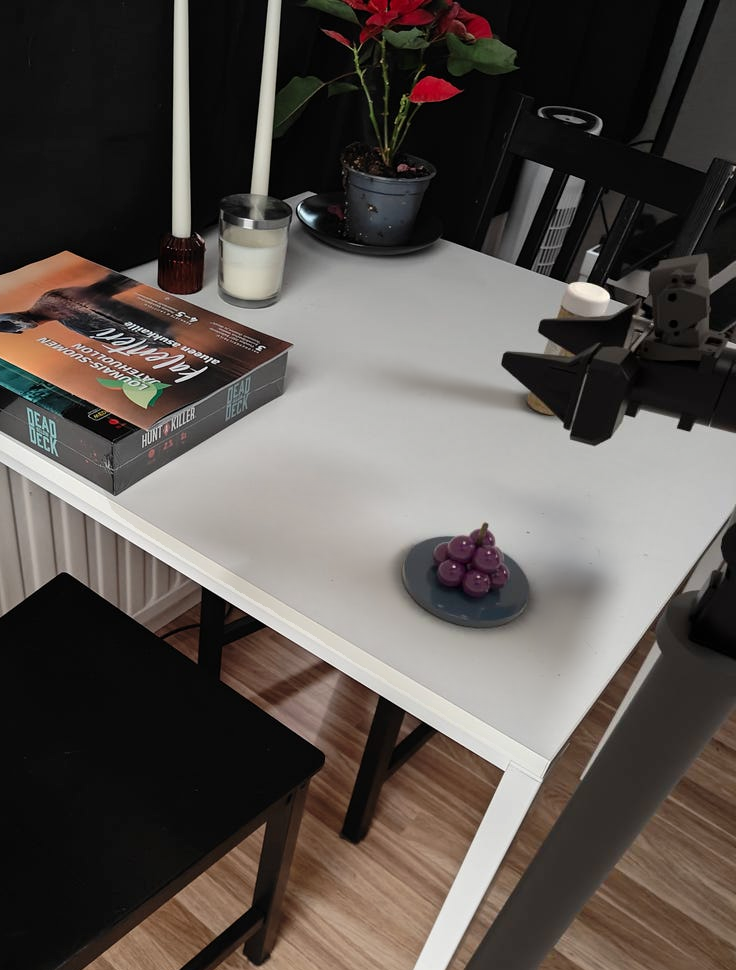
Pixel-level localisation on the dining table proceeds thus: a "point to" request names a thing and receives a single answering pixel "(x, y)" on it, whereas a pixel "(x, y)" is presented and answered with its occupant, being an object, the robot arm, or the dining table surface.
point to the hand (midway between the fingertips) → (521, 341)
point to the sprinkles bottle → (574, 303)
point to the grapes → (466, 579)
